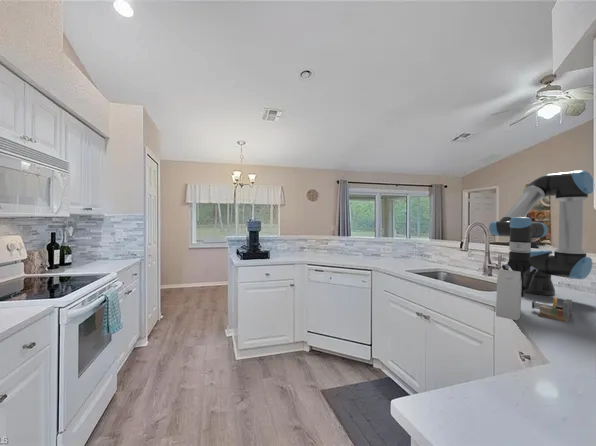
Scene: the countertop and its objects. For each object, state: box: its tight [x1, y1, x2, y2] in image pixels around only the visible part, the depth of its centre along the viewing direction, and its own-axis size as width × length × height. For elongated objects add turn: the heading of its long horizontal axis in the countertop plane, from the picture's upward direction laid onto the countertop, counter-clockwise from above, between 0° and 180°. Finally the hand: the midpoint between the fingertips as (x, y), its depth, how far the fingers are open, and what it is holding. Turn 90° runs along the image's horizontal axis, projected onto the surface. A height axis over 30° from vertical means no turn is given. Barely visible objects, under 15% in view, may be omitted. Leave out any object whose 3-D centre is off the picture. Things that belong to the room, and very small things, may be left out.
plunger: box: [531, 297, 559, 310], centre depth 117 cm, size 4×8×6 cm, turn 37°
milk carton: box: [495, 268, 522, 321], centre depth 113 cm, size 7×7×19 cm
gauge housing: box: [537, 298, 573, 323], centre depth 115 cm, size 12×8×7 cm
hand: (518, 303), depth 125 cm, fingers closed
